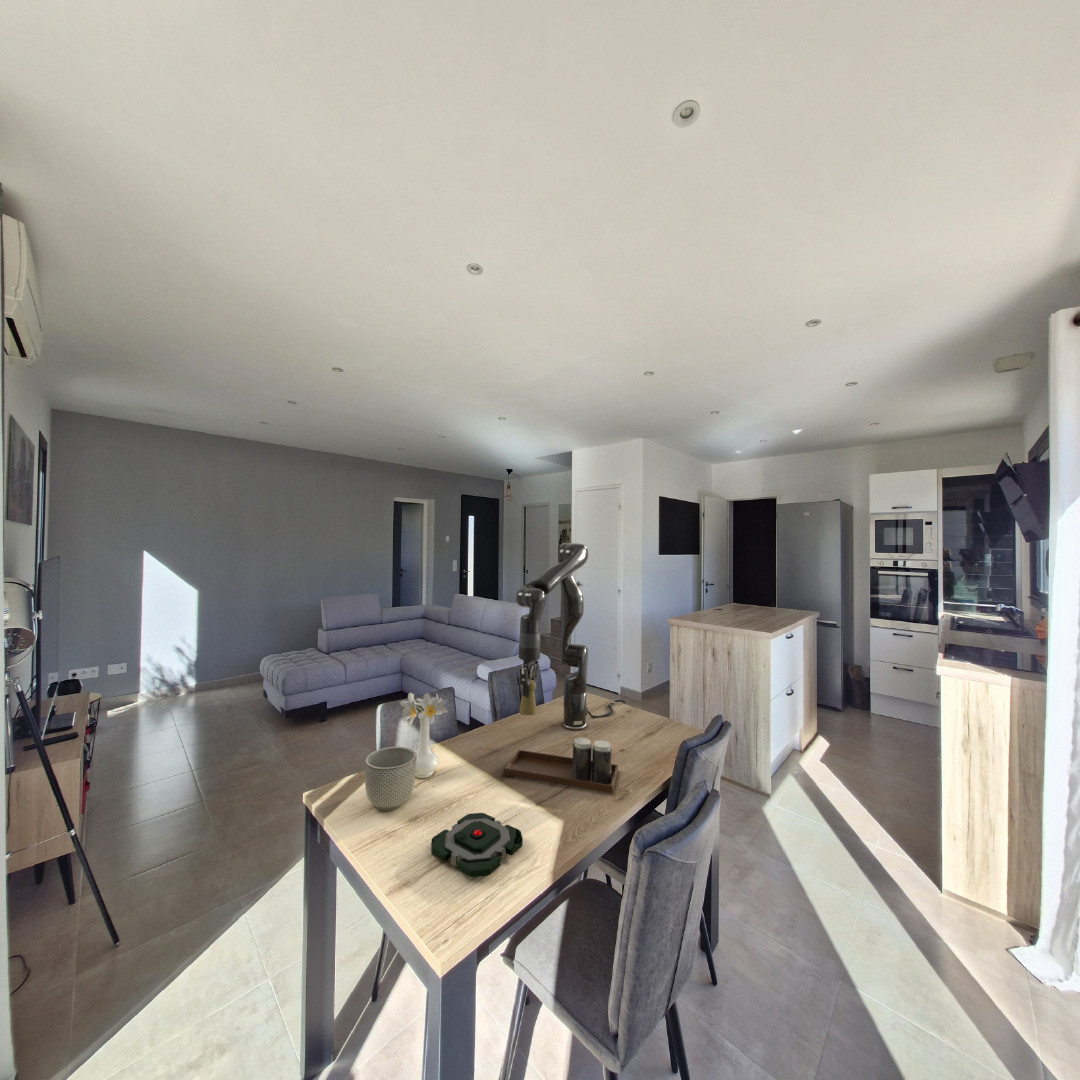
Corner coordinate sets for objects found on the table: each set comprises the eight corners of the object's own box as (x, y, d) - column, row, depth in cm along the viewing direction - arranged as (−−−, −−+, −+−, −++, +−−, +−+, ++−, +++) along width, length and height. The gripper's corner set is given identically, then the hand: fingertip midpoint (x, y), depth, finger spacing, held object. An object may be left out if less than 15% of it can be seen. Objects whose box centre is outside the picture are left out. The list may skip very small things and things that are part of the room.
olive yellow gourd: (537, 709, 160) (538, 678, 161) (535, 715, 154) (536, 683, 155) (520, 708, 161) (521, 677, 161) (517, 714, 155) (518, 682, 155)
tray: (518, 756, 156) (518, 749, 156) (617, 772, 147) (618, 764, 147) (503, 776, 143) (503, 768, 143) (612, 794, 133) (612, 786, 133)
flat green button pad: (475, 818, 120) (475, 800, 120) (529, 844, 110) (530, 825, 110) (422, 854, 105) (422, 834, 105) (479, 889, 95) (480, 867, 95)
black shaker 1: (574, 770, 147) (575, 736, 147) (592, 773, 145) (593, 738, 145) (570, 779, 141) (571, 743, 141) (589, 782, 139) (590, 746, 139)
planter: (425, 804, 126) (426, 757, 126) (377, 825, 116) (378, 774, 116) (400, 785, 136) (401, 742, 136) (354, 803, 126) (356, 756, 126)
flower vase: (417, 757, 154) (419, 684, 154) (456, 773, 144) (458, 694, 144) (385, 772, 143) (387, 693, 144) (425, 791, 133) (427, 705, 133)
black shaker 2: (593, 773, 145) (594, 738, 145) (612, 776, 143) (613, 741, 143) (590, 782, 139) (591, 746, 139) (609, 785, 137) (610, 749, 138)
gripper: (533, 649, 150) (532, 701, 150) (545, 642, 164) (544, 689, 163) (512, 647, 152) (511, 698, 152) (526, 640, 166) (525, 686, 166)
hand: (528, 693), depth 158 cm, fingers closed on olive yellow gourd, 5 cm apart
